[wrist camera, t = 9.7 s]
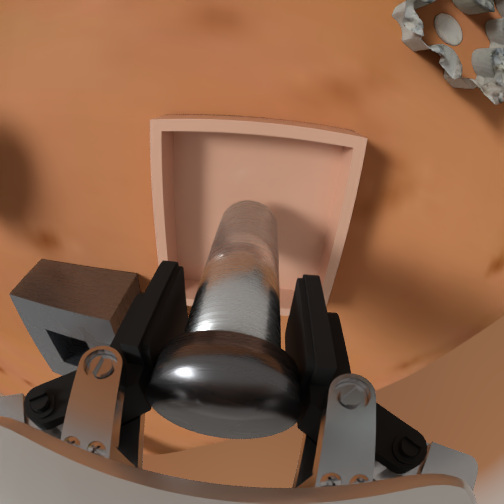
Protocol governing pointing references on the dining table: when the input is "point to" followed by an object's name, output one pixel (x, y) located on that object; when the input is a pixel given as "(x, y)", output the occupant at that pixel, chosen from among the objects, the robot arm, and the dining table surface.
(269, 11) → the dining table surface
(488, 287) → the dining table surface
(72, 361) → the socket block
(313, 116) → the dining table surface
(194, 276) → the tray
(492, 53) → the egg carton
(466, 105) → the dining table surface
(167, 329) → the robot arm
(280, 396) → the pin
